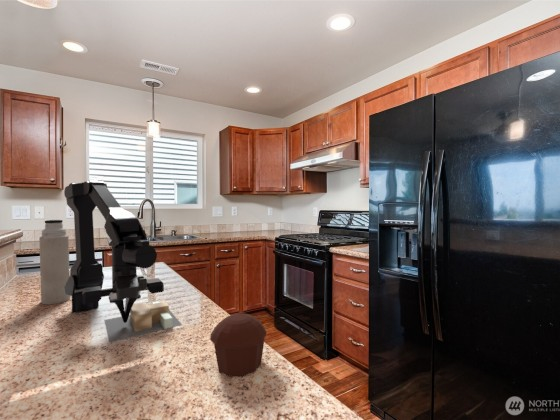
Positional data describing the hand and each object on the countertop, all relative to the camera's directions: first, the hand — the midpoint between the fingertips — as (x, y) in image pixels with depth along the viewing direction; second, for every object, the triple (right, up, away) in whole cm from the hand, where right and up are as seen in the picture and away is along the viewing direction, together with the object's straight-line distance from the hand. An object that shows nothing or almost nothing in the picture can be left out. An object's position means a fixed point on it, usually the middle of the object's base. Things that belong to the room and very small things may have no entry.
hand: (125, 322), depth 78 cm
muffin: (+33, -2, -17) cm, 37 cm away
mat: (+3, -2, +2) cm, 5 cm away
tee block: (+5, -1, +3) cm, 6 cm away
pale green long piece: (+8, -1, +5) cm, 9 cm away
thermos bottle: (-37, -2, +24) cm, 44 cm away
